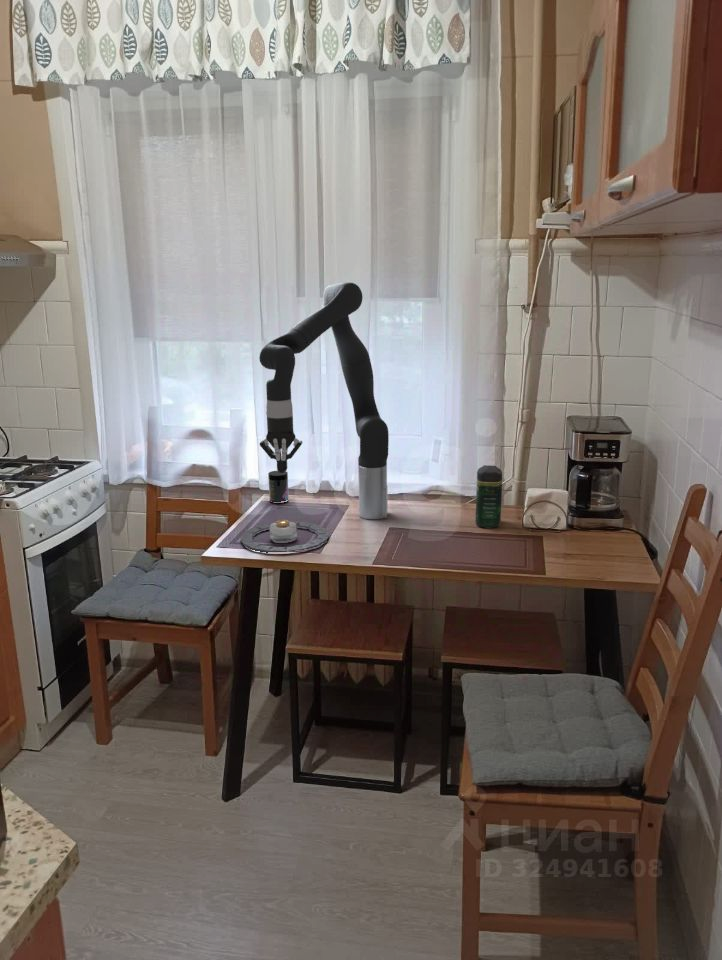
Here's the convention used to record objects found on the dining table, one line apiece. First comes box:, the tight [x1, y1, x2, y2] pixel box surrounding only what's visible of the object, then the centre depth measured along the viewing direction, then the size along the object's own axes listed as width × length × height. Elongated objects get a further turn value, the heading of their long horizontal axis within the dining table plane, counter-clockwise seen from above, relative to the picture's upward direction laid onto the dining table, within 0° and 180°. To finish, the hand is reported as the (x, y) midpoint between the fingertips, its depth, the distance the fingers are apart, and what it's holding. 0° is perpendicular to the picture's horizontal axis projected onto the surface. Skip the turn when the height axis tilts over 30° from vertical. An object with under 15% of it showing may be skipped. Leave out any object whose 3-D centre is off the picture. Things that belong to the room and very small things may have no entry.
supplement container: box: [267, 470, 289, 502], centre depth 275 cm, size 7×7×10 cm
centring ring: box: [240, 521, 330, 553], centre depth 239 cm, size 26×26×1 cm
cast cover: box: [269, 519, 298, 541], centre depth 239 cm, size 8×8×6 cm
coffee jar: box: [475, 464, 503, 529], centre depth 247 cm, size 10×8×19 cm
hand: (282, 472), depth 233 cm, fingers closed
